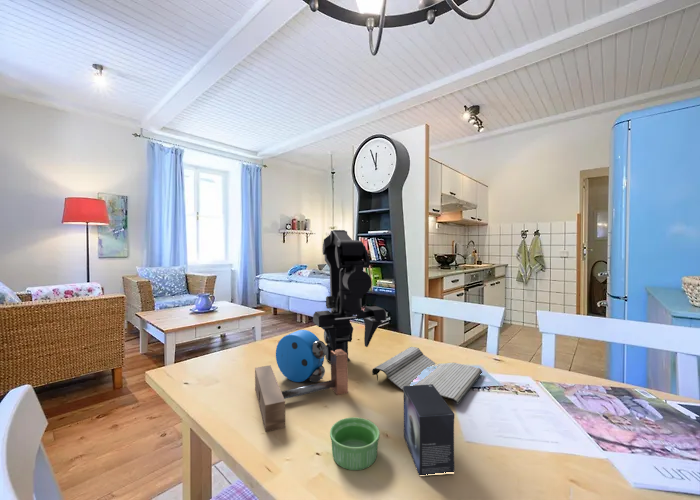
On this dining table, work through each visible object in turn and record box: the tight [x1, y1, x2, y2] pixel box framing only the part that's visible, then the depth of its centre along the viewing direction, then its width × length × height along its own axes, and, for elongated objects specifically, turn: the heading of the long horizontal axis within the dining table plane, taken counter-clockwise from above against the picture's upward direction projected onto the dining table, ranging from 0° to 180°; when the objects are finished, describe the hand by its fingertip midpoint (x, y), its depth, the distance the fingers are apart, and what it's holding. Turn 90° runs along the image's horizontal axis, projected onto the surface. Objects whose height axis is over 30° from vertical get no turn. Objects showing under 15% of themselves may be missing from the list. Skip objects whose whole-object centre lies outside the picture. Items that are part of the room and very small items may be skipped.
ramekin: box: [329, 416, 380, 471], centre depth 55 cm, size 9×9×4 cm
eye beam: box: [254, 365, 286, 433], centre depth 71 cm, size 4×20×6 cm, turn 23°
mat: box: [371, 346, 483, 405], centre depth 86 cm, size 23×24×5 cm
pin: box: [281, 349, 349, 400], centre depth 76 cm, size 16×4×10 cm, turn 115°
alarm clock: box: [275, 329, 327, 383], centre depth 85 cm, size 13×6×15 cm
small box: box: [402, 384, 456, 476], centre depth 55 cm, size 11×6×10 cm, turn 5°
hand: (350, 348), depth 79 cm, fingers open, 9 cm apart
